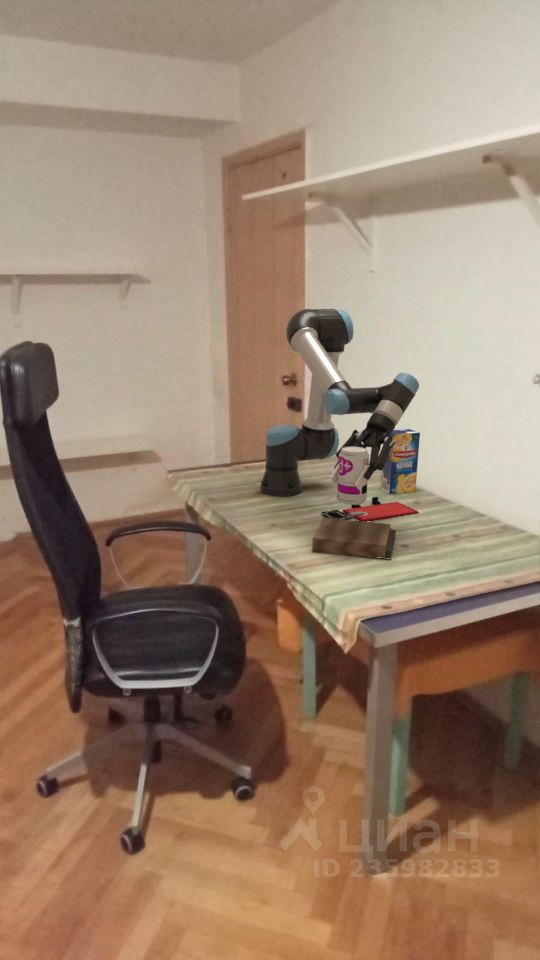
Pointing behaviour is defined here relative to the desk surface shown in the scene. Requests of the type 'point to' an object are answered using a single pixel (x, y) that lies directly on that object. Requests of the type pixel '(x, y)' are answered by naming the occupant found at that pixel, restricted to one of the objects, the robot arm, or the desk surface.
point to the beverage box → (401, 463)
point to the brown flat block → (354, 538)
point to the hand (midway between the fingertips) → (344, 483)
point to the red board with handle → (372, 511)
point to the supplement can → (351, 475)
